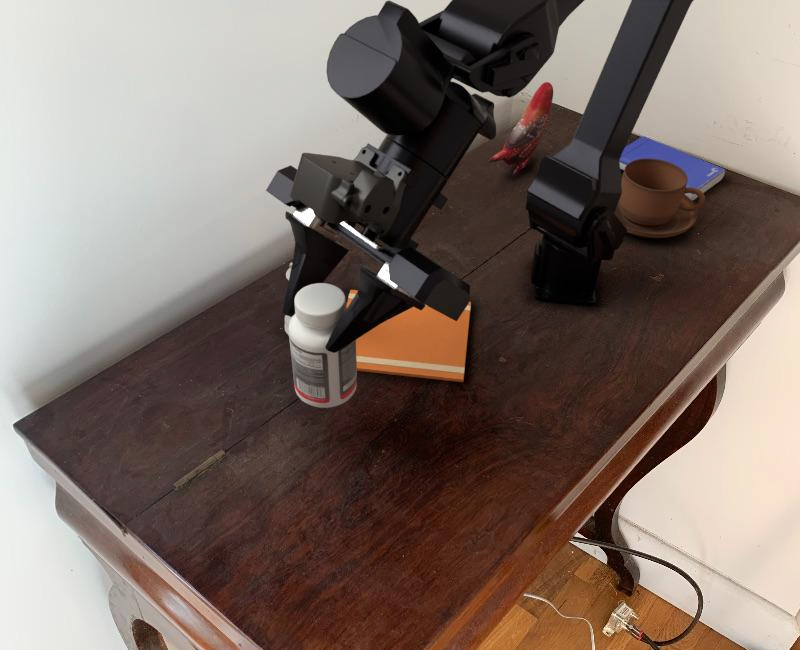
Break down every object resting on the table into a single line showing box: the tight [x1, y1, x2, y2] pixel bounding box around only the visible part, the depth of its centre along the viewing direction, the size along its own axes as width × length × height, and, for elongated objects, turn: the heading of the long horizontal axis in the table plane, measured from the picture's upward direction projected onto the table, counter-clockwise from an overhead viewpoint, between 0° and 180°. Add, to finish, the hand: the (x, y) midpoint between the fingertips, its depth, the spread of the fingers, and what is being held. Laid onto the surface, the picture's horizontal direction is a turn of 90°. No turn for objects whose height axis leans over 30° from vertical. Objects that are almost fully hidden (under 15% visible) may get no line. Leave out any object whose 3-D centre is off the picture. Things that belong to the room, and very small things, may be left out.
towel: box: [346, 289, 472, 383], centre depth 82 cm, size 13×12×1 cm
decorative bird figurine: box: [488, 81, 554, 176], centre depth 101 cm, size 3×18×10 cm, turn 149°
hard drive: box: [619, 135, 726, 201], centre depth 106 cm, size 2×8×12 cm
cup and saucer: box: [614, 158, 706, 239], centre depth 96 cm, size 12×12×6 cm
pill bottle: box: [287, 282, 358, 409], centre depth 66 cm, size 5×5×10 cm
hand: (307, 332), depth 63 cm, fingers closed on pill bottle, 5 cm apart
